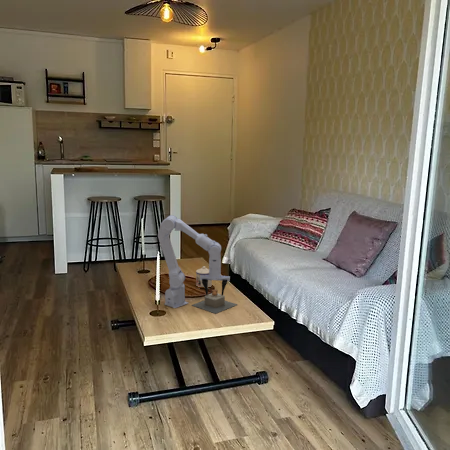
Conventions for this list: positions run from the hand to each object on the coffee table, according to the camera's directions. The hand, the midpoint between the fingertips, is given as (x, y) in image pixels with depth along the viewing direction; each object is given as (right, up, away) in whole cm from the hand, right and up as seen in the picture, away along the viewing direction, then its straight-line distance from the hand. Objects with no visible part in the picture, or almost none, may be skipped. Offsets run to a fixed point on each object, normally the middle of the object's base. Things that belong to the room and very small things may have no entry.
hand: (214, 294), depth 224 cm
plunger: (0, -4, +1) cm, 4 cm away
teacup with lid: (-6, -1, +29) cm, 29 cm away
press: (0, -6, +1) cm, 6 cm away
